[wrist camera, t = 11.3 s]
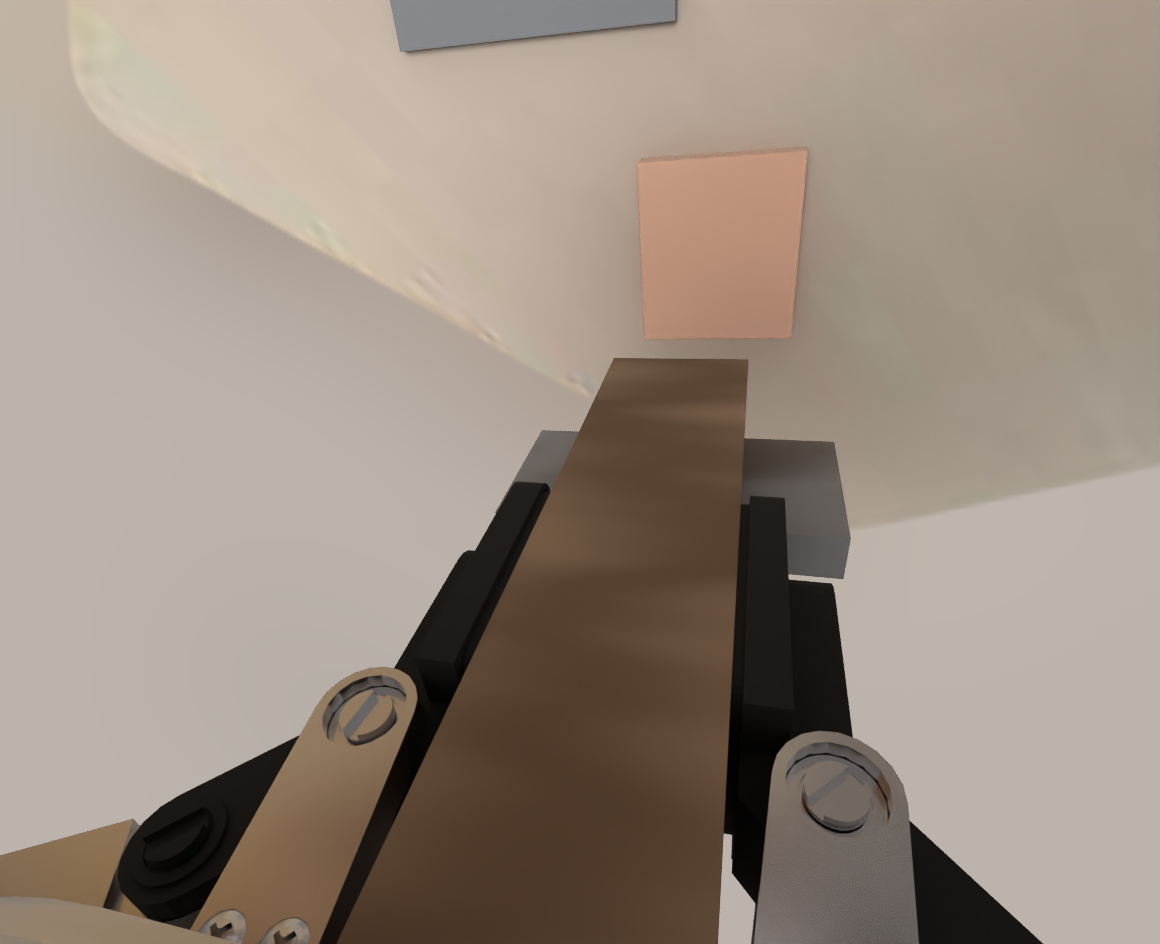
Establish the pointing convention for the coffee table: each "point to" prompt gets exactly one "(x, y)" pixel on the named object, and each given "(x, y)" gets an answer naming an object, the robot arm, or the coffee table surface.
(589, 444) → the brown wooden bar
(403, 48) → the mat
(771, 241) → the tile
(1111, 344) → the coffee table surface
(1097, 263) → the coffee table surface
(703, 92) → the coffee table surface
